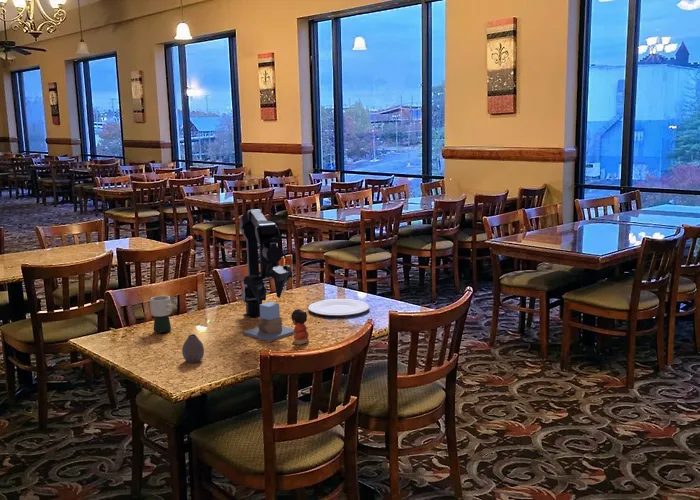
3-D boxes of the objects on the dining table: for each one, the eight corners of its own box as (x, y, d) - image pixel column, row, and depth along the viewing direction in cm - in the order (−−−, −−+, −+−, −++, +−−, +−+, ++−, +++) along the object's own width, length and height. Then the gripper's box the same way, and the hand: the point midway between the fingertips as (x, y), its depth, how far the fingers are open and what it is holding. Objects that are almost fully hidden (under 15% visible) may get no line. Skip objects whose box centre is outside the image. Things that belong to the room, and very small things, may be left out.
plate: (380, 307, 292) (380, 303, 292) (348, 322, 272) (348, 318, 271) (330, 300, 306) (330, 296, 305) (295, 314, 285) (295, 309, 284)
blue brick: (260, 317, 257) (259, 304, 256) (270, 314, 261) (269, 301, 260) (269, 320, 254) (268, 306, 253) (279, 317, 258) (279, 304, 257)
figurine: (312, 340, 250) (311, 307, 248) (306, 345, 245) (305, 311, 242) (295, 339, 252) (294, 306, 250) (289, 343, 247) (288, 310, 244)
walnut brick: (258, 331, 258) (258, 317, 257) (271, 327, 263) (270, 314, 262) (269, 334, 254) (269, 320, 253) (282, 330, 259) (281, 317, 258)
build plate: (243, 334, 258) (243, 331, 258) (272, 325, 268) (271, 323, 268) (268, 341, 249) (268, 339, 249) (297, 332, 259) (297, 330, 259)
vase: (184, 358, 234) (182, 332, 232) (205, 357, 234) (204, 331, 233) (181, 365, 227) (179, 339, 225) (203, 364, 227) (201, 338, 226)
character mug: (180, 331, 263) (178, 297, 261) (165, 336, 257) (163, 301, 255) (159, 327, 269) (157, 293, 266) (145, 332, 263) (142, 298, 261)
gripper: (262, 264, 241) (264, 309, 244) (302, 256, 255) (303, 298, 258) (241, 260, 249) (243, 304, 251) (281, 253, 262) (282, 293, 265)
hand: (269, 300), depth 256 cm, fingers open, 9 cm apart
